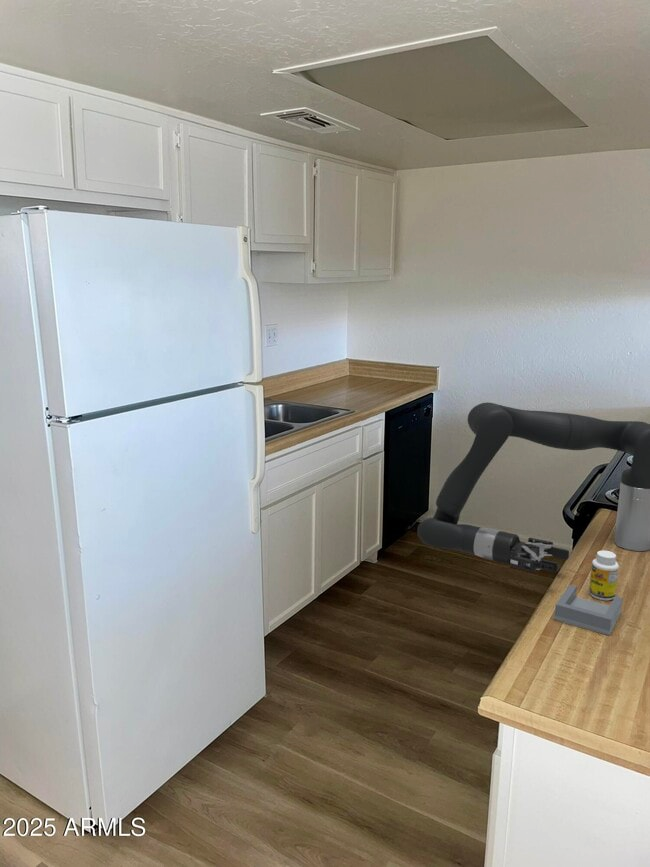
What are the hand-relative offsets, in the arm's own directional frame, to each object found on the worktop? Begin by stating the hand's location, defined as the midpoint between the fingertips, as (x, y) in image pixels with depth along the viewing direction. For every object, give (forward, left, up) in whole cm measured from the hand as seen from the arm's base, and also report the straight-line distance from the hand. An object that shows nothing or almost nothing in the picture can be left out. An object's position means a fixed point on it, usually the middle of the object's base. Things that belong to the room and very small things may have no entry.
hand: (563, 561), depth 153 cm
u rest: (+12, +9, -6) cm, 16 cm away
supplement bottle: (0, +9, -6) cm, 11 cm away
